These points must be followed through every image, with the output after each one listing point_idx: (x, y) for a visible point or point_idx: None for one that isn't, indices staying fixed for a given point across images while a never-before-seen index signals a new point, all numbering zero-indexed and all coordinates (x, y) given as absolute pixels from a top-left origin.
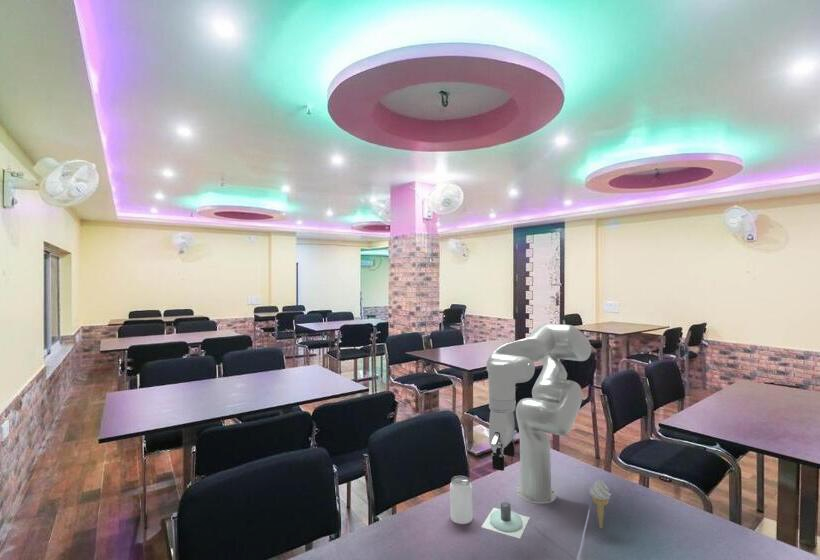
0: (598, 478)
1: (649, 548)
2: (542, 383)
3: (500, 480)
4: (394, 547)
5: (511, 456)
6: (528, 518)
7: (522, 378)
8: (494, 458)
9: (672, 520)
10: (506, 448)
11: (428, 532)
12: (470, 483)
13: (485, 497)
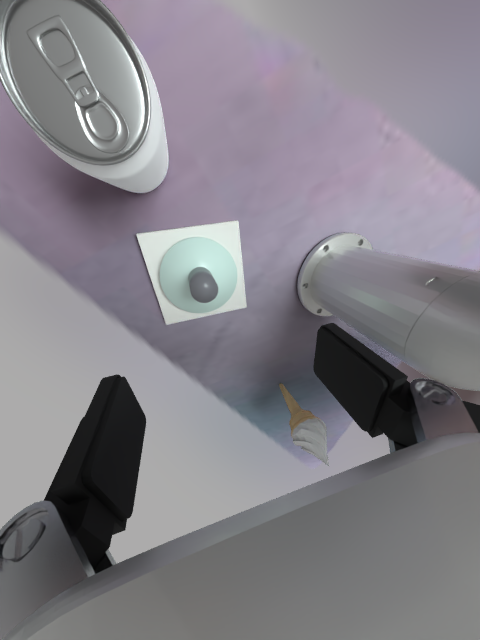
0: (324, 460)
1: (266, 425)
2: None
3: (378, 166)
4: None
5: (316, 360)
6: (241, 307)
7: None
8: (52, 486)
9: (330, 418)
10: (345, 369)
11: None
12: (132, 163)
13: (283, 165)
